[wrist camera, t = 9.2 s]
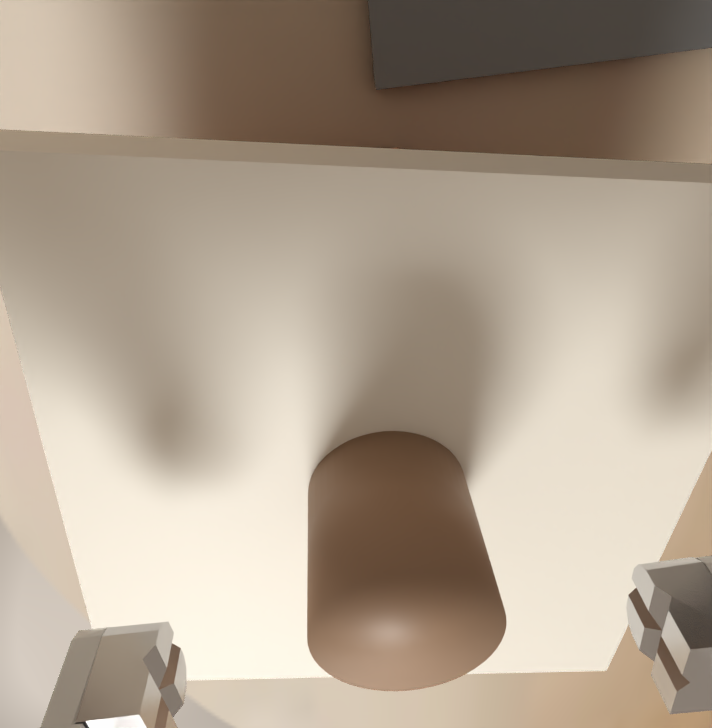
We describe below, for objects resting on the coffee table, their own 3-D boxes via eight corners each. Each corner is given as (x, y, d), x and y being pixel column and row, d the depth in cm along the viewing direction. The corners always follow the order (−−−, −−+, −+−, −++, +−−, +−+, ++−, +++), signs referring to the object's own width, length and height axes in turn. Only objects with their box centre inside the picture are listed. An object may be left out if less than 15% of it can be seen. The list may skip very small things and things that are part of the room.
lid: (786, 168, 11) (1036, 274, 7) (589, 630, 18) (663, 806, 14) (-1, 129, 10) (-195, 232, 6) (118, 638, 17) (63, 831, 13)
